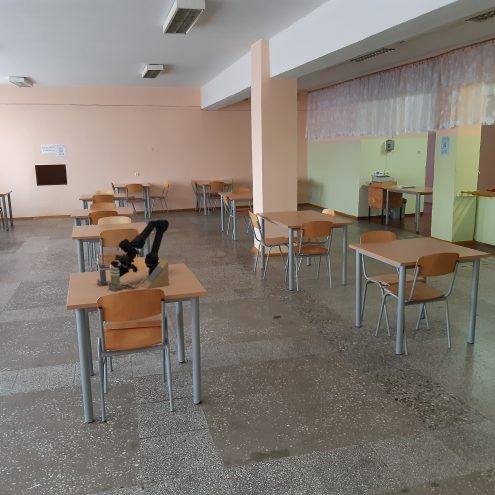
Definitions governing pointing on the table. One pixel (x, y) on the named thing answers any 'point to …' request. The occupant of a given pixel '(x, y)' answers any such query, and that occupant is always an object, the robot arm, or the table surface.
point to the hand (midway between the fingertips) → (117, 278)
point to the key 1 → (102, 273)
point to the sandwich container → (158, 276)
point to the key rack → (110, 285)
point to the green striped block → (115, 277)
